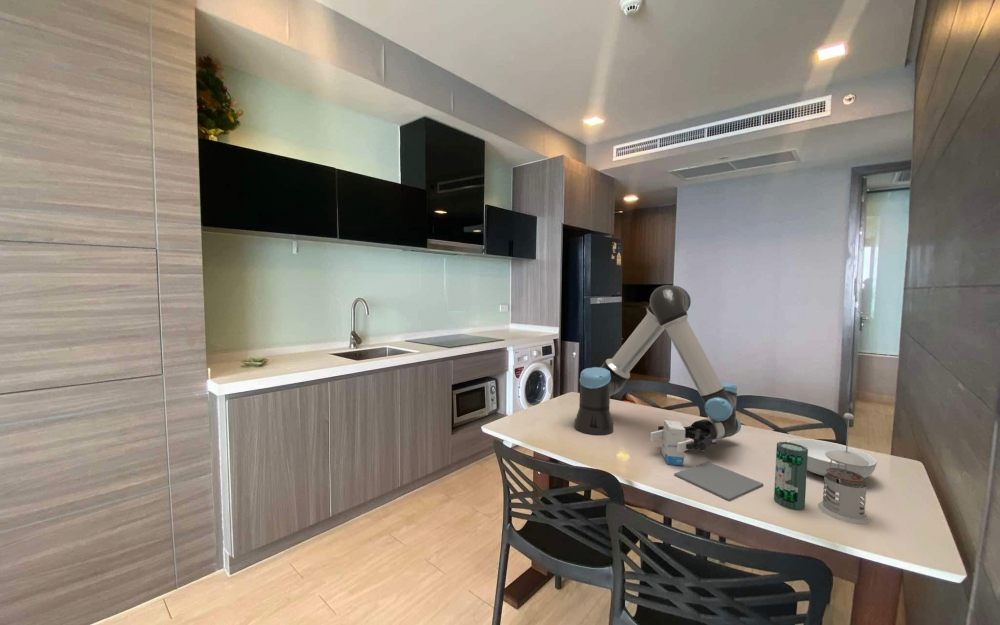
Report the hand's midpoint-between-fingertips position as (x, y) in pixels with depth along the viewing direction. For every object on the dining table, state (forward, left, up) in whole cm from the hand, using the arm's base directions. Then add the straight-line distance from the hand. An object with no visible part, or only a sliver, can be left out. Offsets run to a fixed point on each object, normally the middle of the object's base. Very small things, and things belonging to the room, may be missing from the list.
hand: (664, 442), depth 121 cm
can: (+31, +9, -7) cm, 33 cm away
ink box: (0, +5, -7) cm, 8 cm away
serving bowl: (+28, +40, -7) cm, 49 cm away
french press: (+39, +17, -7) cm, 43 cm away
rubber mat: (+15, +4, -7) cm, 17 cm away
